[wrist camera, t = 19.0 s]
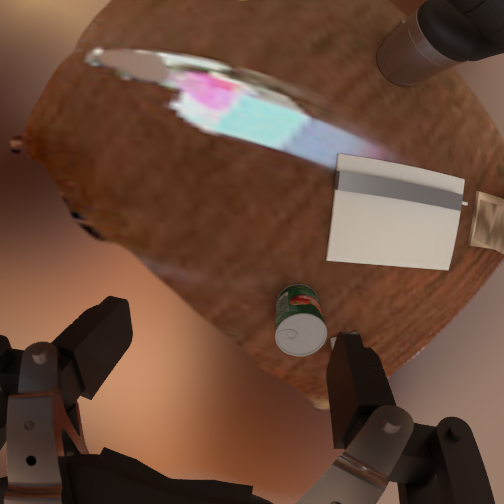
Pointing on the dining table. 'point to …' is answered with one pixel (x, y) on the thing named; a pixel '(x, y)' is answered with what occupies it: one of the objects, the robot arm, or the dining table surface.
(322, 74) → the dining table surface
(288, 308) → the canned tomato
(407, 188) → the dark grey block
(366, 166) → the off-white board
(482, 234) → the birch stand
